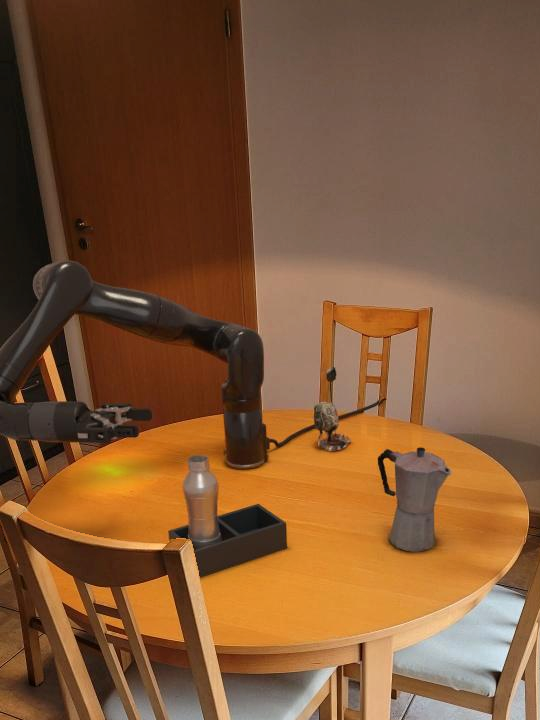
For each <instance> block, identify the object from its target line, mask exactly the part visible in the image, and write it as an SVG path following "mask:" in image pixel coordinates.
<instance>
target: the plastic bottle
mask: <svg viewBox="0 0 540 720" xmlns="http://www.w3.org/2000/svg"><path fill="white" fill-rule="evenodd" d="M209 460H210V459H209V457H208V456H207V455H205V454H195V455H192V456H189V457H187V470H188V471H189V472H188V473H187V474H186V476H185V478H184V480H183V483H182V492H183V497H184V500H185V504H186V511H187V518H188V524H187V525H188V538H187V539H190V540H191V541H192V544H193V548H194V550H196V549H199V548H202V547H205V546H208V545H211V544H214V543H218V542H221V541H222V537H221V533H220V530H219V524H218V518H217V516H218V499H219V489H220V488H219V484H220V483H219V481H218V479H217V477H216V476H215V475H214V474H213V472H212V471H210V470H209V469H210V467H211V466H210V462H209Z"/></svg>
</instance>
